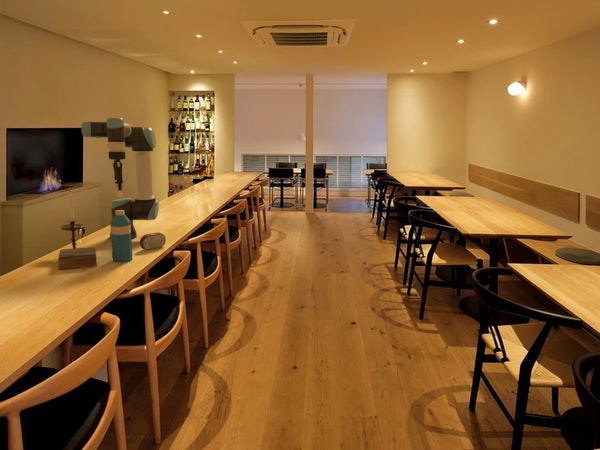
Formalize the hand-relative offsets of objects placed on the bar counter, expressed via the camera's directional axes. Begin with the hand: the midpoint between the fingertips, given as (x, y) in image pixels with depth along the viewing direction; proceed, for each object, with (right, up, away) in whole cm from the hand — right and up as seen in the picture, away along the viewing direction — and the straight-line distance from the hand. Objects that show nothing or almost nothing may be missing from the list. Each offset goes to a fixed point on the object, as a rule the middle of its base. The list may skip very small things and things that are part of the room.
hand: (119, 195), depth 235 cm
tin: (+7, -27, +30) cm, 41 cm away
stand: (-19, -33, -1) cm, 38 cm away
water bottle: (-1, -32, +7) cm, 33 cm away
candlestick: (-30, -29, +18) cm, 45 cm away
